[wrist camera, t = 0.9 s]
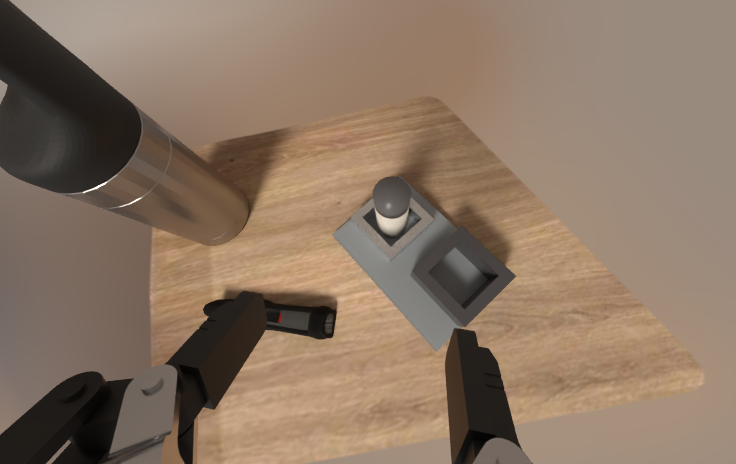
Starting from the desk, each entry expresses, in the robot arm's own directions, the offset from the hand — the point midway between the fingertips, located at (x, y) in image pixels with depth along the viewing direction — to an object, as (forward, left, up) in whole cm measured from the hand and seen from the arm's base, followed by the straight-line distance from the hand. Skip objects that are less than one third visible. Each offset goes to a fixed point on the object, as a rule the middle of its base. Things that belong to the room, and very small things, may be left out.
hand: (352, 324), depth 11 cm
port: (+3, +10, -22) cm, 24 cm away
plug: (-7, +9, -22) cm, 24 cm away
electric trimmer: (-8, -10, -23) cm, 26 cm away
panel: (-2, +8, -23) cm, 24 cm away
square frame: (-7, +9, -22) cm, 24 cm away
